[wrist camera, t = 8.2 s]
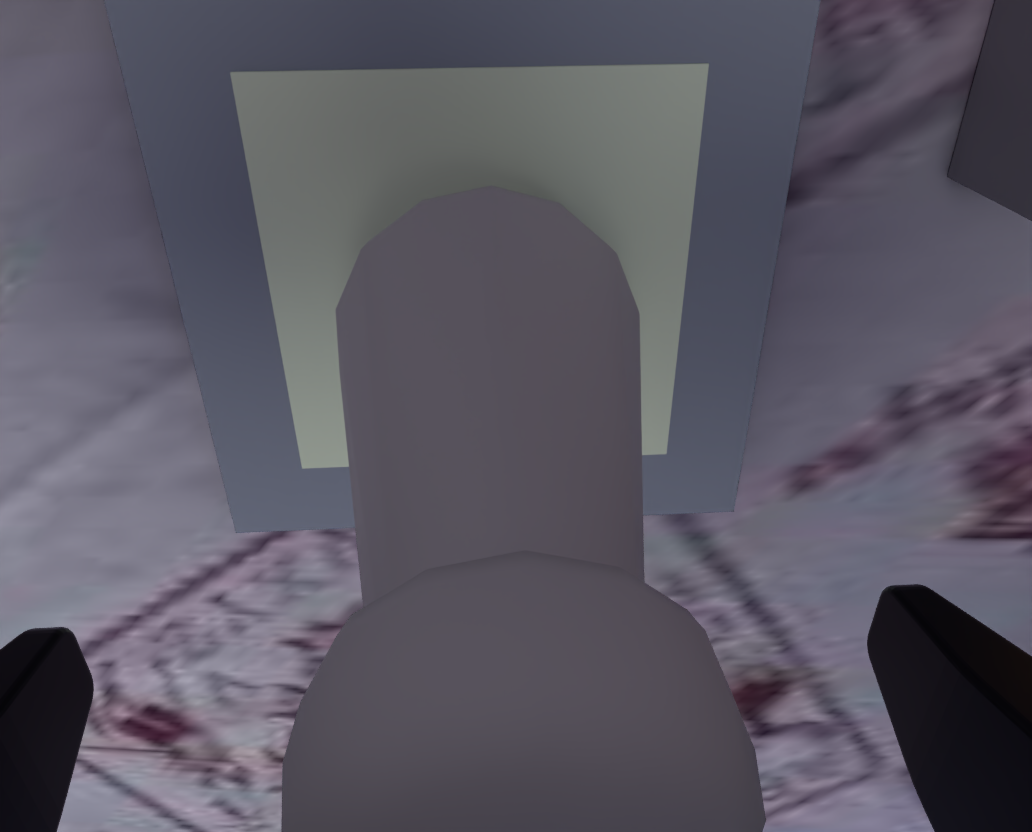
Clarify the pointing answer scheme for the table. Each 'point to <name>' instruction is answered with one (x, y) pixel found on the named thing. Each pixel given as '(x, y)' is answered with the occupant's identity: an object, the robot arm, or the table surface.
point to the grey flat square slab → (455, 168)
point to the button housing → (1000, 113)
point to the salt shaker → (506, 555)
